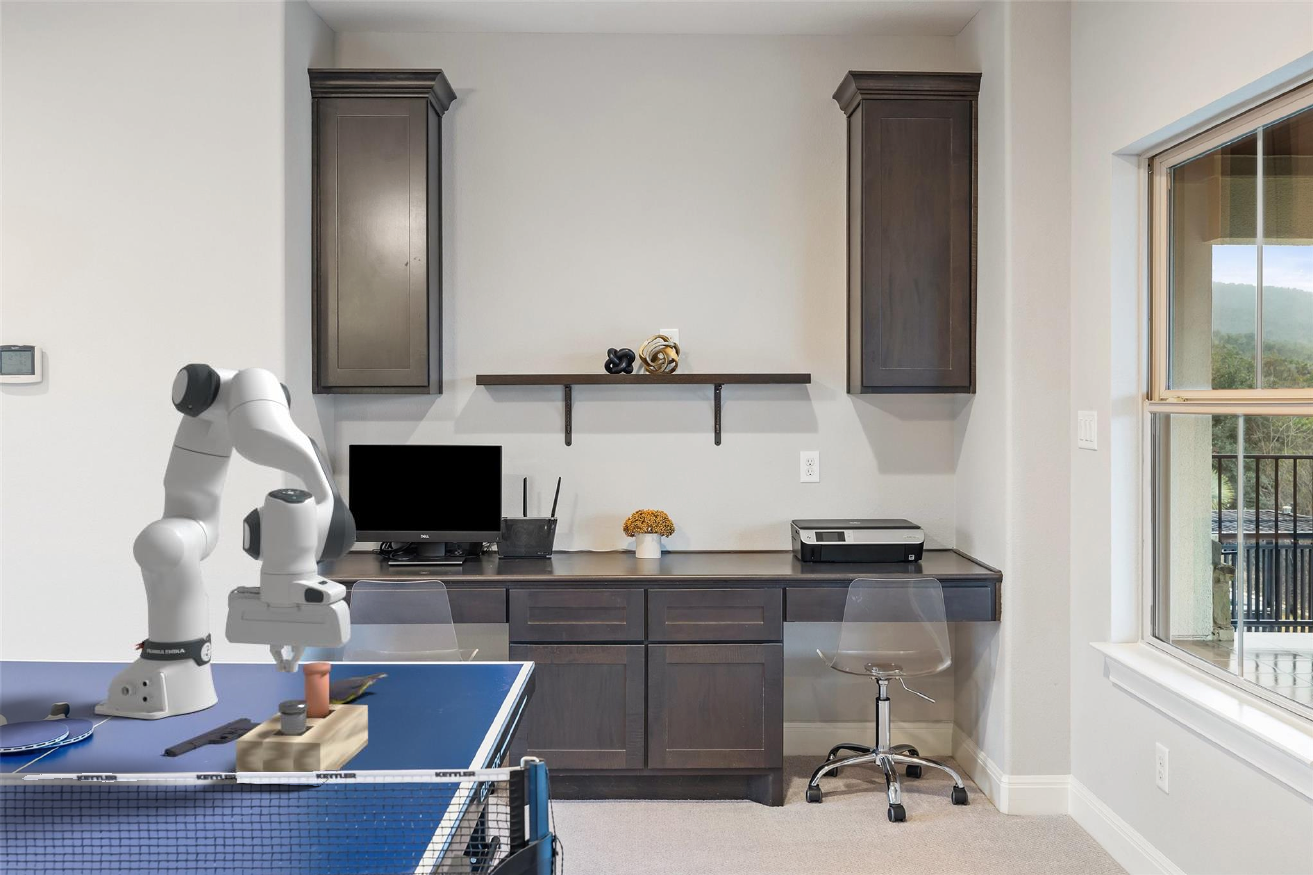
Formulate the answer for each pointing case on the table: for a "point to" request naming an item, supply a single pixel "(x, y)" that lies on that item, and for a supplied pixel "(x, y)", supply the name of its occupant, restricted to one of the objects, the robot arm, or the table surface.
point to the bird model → (350, 687)
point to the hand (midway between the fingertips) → (287, 671)
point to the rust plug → (317, 689)
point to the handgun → (214, 736)
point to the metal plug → (293, 717)
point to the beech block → (305, 743)
